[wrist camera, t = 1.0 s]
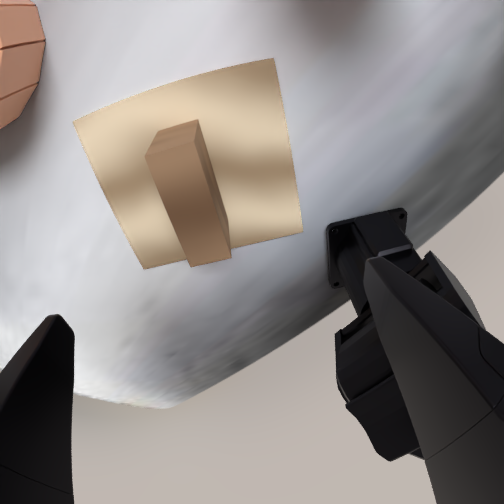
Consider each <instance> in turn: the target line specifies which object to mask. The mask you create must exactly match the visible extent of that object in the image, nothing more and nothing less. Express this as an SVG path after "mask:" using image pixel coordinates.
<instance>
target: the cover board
mask: <svg viewBox="0 0 504 504" xmlns="http://www.w3.org/2000/svg"><path fill="white" fill-rule="evenodd" d="M73 124H74V127H75V129H76V132H77V134H78V136H79V139H80V141H81V144H82V146H83V148H84V151H85V153H86V155H87V157H88V160H89V162H90V164H91V166H92V169H93V171H94V173H95V175H96V177H97V179H98V182H99V184H100V186H101V188H102V190H103V192H104V194H105V196H106V198H107V200H108V202H109V204H110V207H111V209H112V211H113V213H114V215H115V216H116V218H117V220H118V222H119V224H120V226H121V228H122V230H123V232H124V234H125V236H126V238H127V240H128V241H129V243H130V245H131V247H132V249H133V251H134V253H135V254H136V256H137V258H138V260H139V262H140V263H141V265H142V267H143V269H148V268H153V267H157V266H161V265H165V264H169V263H173V262H178V261H182V260H186V259H187V260H188V262H189V264H190V267H195V266H199V265H203V264H208V263H212V262H216V261H220V260H225V259H229V258H232V257H231V249H232V248H237V247H241V246H245V245H249V244H254V243H258V242H262V241H267V240H271V239H275V238H279V237H284V236H288V235H292V234H297V233H301V232H303V226H302V219H301V212H300V205H299V198H298V191H297V185H296V178H295V172H294V165H293V159H292V153H291V147H290V141H289V136H288V130H287V124H286V119H285V113H284V108H283V102H282V97H281V92H280V87H279V82H278V77H277V72H276V67H275V62H274V58H271V59H265V60H260V61H254V62H249V63H245V64H240V65H235V66H231V67H227V68H222V69H218V70H214V71H210V72H207V73H203V74H199V75H195V76H192V77H188V78H185V79H182V80H178V81H175V82H172V83H169V84H166V85H163V86H160V87H157V88H154V89H151V90H148V91H145V92H142V93H139V94H137V95H134V96H131V97H129V98H126V99H124V100H121V101H118V102H116V103H114V104H111V105H109V106H106V107H104V108H102V109H99V110H97V111H95V112H92V113H90V114H88V115H86V116H84V117H81V118H79V119H77V120H75V121H73Z"/></svg>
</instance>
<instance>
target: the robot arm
mask: <svg viewBox="0 0 504 504" xmlns="http://www.w3.org/2000/svg"><path fill="white" fill-rule="evenodd" d="M400 214H401V216H399V215H400ZM406 222H407V212H406V211H405V210H404V209H403V208H397V209H393V210H388V211H383V212H379V213H374V214H370V215H365V216H361V217H357V218H352V219H348V220H343V221H339V222H335V223H331V224H330V225H328V227H327V242H328V260H329V282H330V285H331V287H332V288H340V287H343V286H345V287H346V290H347V292H348V294H349V297H350V299H351V301H352V303H353V306H354V308H355V310H356V313H357V315H358V317H357V318H356V319H355V320H354V321H352V322H351V323H350V324H349V325H347V326H346V327H345V328H344V329H340V330H339V331H338V332H337V333H335V351H336V379H337V385H338V389H339V391H340V393H341V395H342V397H343V398H344V400H345V401H346V409H348V411H349V412H351V413H352V414H353V415H354V416H355V417H356V418H357V420H358V421H359V422H360V424H361V425H362V426H363V428H364V429H365V431H366V433H367V435H368V436H369V439H370V441H371V443H372V445H373V447H374V449H375V451H376V452H377V453H378V454H379V455H380V456H382V457H383V458H385V459H386V460H388V461H393V460H396V459H398V458H400V457H402V456H404V455H406V454H410V455H413V456H415V457H418V458H420V459H423V460H425V464H426V467H427V471H428V474H429V477H430V481H431V484H432V488H433V491H434V495H435V499H436V503H437V504H504V344H503V343H502V342H501V341H499V340H498V339H497V338H495V337H494V336H493V335H491V334H490V333H489V332H487V331H486V329H485V327H484V324H483V322H482V320H481V318H480V316H479V313H478V311H477V309H476V307H475V305H474V303H473V301H472V299H471V298H470V296H469V295H468V293H467V292H466V290H465V289H464V288H463V286H462V285H461V284H460V282H459V281H458V279H457V278H456V277H455V276H454V275H453V274H452V272H451V271H450V270H449V269H448V268H447V267H446V266H445V265H444V264H443V263H442V262H441V261H440V260H439V259H438V258H437V257H436V256H435V255H434V254H433V253H432V252H431V251H429V252H428V253H427V254H426V255H425V256H424V257H425V258H424V259H423V260H422V259H421V258H420V257H419V255H418V254H417V252H416V251H415V249H414V248H413V244H412V243H411V241H410V240H409V239H408V237H407V236H406V235H405V230H406ZM333 229H336V230H335V231H332V230H333ZM74 343H75V336H74V332H73V330H72V329H71V327H70V326H69V325H68V324H67V322H66V321H65V320H64V319H63V317H62V316H61V315H59V314H54V315H49V316H47V317H46V318H45V319H44V321H43V322H42V323H41V324H40V325H39V326H38V327H37V329H36V330H35V331H34V332H33V333H32V334H31V336H30V337H29V338H28V339H27V340H26V342H25V343H24V344H23V345H22V346H21V348H20V349H19V350H18V351H17V353H16V354H15V355H14V356H13V357H12V359H11V360H10V361H9V362H8V364H7V365H6V366H5V368H4V369H3V370H2V371H1V373H0V504H74V495H73V484H72V458H71V457H72V456H71V429H72V404H73V388H74Z"/></svg>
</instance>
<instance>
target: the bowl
mask: <svg viewBox="0 0 504 504" xmlns="http://www.w3.org/2000/svg"><path fill="white" fill-rule="evenodd" d="M35 5H36V4H34V3H33V2H31V1H30V0H0V129H2V128H3V127H5V126H6V125H8V124H9V123H11V122H12V121H14V120H15V119H17V118H18V117H19V116H20V115H21V113H22V111H23V109H24V107H25V105H26V104H27V102H28V100H29V98H30V97H31V95H32V93H33V92H34V90H35V88H36V87H37V85H38V83H36V82H39V78H40V71H41V64H42V58H43V52H44V47H45V42H43V40H45V36H44V32H43V29H42V25H41V21H40V18H39V14H38V10H37V6H35Z"/></svg>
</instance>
